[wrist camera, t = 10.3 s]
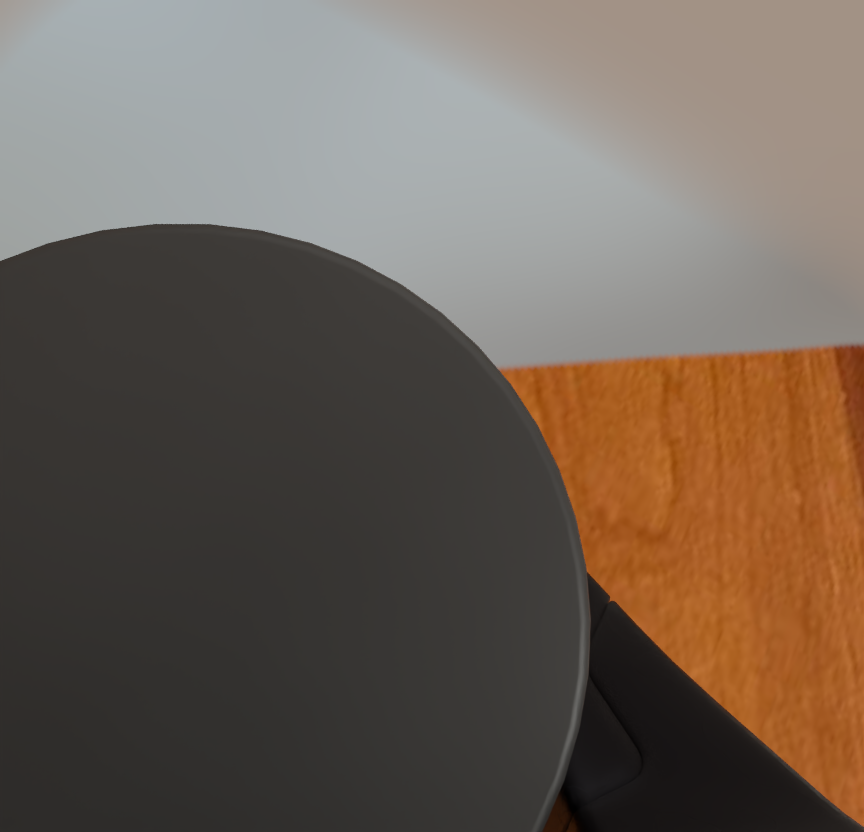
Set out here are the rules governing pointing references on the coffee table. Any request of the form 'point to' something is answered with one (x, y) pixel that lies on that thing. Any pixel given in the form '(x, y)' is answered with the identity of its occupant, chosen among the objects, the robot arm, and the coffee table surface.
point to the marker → (271, 550)
